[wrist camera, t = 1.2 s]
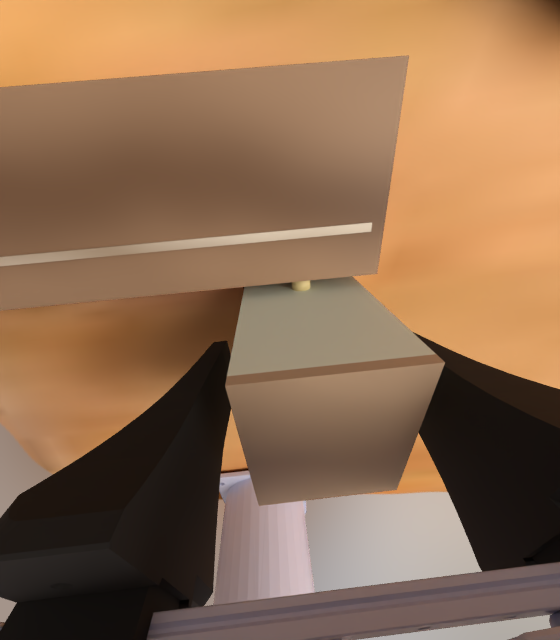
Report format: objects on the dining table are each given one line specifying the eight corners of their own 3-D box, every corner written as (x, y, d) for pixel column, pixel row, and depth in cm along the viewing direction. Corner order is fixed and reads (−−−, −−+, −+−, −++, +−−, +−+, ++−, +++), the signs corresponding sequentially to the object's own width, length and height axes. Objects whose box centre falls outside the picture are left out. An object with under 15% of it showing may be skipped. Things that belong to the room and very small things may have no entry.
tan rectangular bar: (354, 258, 11) (378, 274, 9) (-57, 297, 11) (-142, 325, 8) (369, 93, 8) (410, 53, 6) (-201, 139, 8) (-395, 115, 5)
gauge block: (337, 359, 14) (396, 489, 8) (260, 367, 14) (259, 505, 8) (344, 258, 11) (451, 344, 5) (244, 268, 11) (220, 369, 5)
